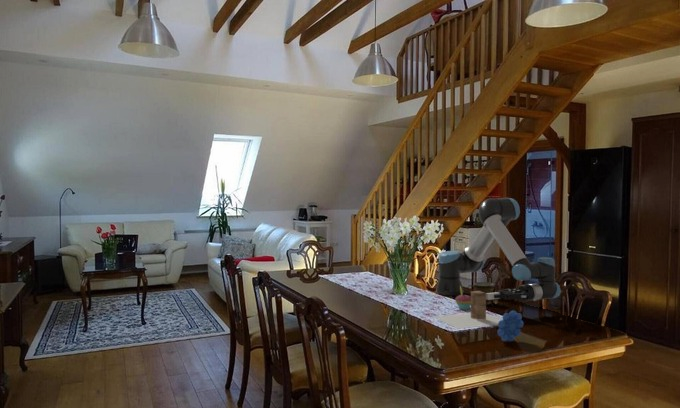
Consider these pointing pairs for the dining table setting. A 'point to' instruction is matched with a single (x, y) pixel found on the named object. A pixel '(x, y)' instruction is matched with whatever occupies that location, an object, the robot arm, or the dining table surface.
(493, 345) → the dining table surface
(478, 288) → the ceramic cup
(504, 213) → the robot arm
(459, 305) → the cupcake
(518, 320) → the grapes
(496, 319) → the felt mat
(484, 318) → the walnut block
